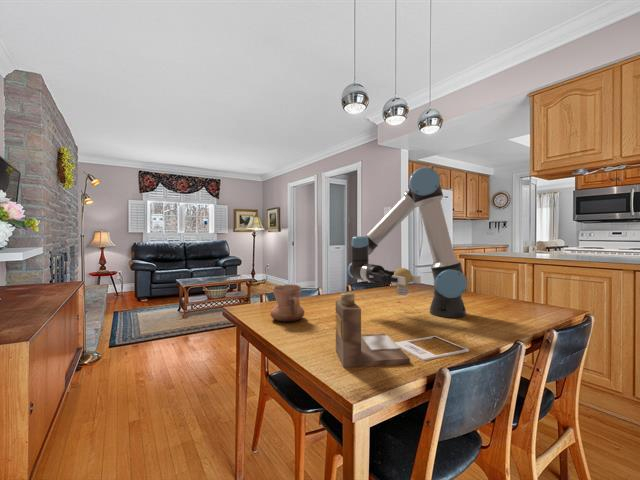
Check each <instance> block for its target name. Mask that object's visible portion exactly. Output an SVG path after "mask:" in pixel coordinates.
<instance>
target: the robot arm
mask: <svg viewBox="0 0 640 480" xmlns="http://www.w3.org/2000/svg"><path fill="white" fill-rule="evenodd" d="M408 181H409V182H408V184H409V185H408V186H409V187H408V188H407V189H406V191H404V192H403V197H401V199H400V200H399V201H398V202H397V203H396V204H395V205H394V206H393V207H392V208H391V209H390V210H389V211H388V212H387V213H386V214H385V215H384V217H382V218H381V220H380V221H378V222H377V224H376V225H375V226H374V227H373V228H372V229H371V230H370V231H369V232H368V233H367V234H366V235H365V236H364V235H363V236H361V235H359V236H352V238H351V262H350V263H349V265H348V266H347V273H348V275H349V277H351V278H352V279H355V280H361V281H365V282H368V283H369V284H370V283H374V284H381V283H384V284H386V283H387V284H388V285H392V284H395V285H398V284H401V285H406V277H401V276H395V275H394V272H395V271H396V270H388V269H385V268H384V266H382V265H379V264H374V263H369V261H370V260H369V256H370V255H371V254H372V253H374V251H375V249H377V247H379V246H380V244H381V243H382V242H383V241H384V240H386V238H387V237H388V236H389V235H391V233H392V232H393V231H395V229H396V228H397V227H398V226H399V225H400V224H401V223H402V222H403V221H404V220H405V219H407V217H408V216H409V215H410V214H411V213H412V212H413V211H414V210H415V209H416V208H419V210H420V214H421V217H422V218H421V219H422V222H423V226H424V231H425V233H426V239H427V242H428V246H429V249H430V255H431V258H432V264H431V265H430V268H431V272H432V277H433V298H432V300H431V303H430V307H429V313H430V314H432V315H433V316H436V317H441V318H451V319H452V318H453V319H455V318H464V317H466V316H467V310H466V307H465V304H464V301H463V298H462V295H463V294H464V293H465V292H466V290H467V286H468V281H467V280H468V279H467V277H466V276H465V275H464V274H465V273H464V271H463V267H462V263H461V260H459V259H458V258H457V257H456V256H455V255H456V254H455V252H454V248H453V244H452V240H451V236H450V232H449V229H448V224H447V221H446V218H445V212H444V209H443V206H442V199H443V198H444V193H443V190H442V186H441V183H440V182H441V178H440V175H439V173H438V171H436V170H435V169H434V168H432V167H428V166H425V167H424V166H423V167H419V168H417V169H416V170H414V171H413V173H411V175H410V177H409V180H408ZM411 276H412V277H411V281H410V282H409V283H415V284H421V275H418V274H412V273H411Z"/></svg>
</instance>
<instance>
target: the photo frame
mask: <svg viewBox="0 0 640 480" xmlns="http://www.w3.org/2000/svg"><path fill="white" fill-rule="evenodd" d="M433 338H437V339H439V340H441V341H444V342H447V343H449V344H451V345H454V346H455V347H458V348H459V349H460V348H461V349H460V350H456V351H451V352H446V353H440V354H437V355H436V354H434V353H433V352H430V351H428V350H426V349H425V348H422V347H420V346H418V345H415V344H414V343H415V342H419V341H424V340H429V339H433ZM394 342H395V341H394ZM412 342H414V343H412ZM395 343H396V344H397V345H398V346H399V347H400V348H401V350H402V351H403V352H406V353H408V354H409V355H412V356H414V357H415V358H416V359H417V358H418V359H420V360H421V361H422V362H425V361H429V360H434V359H438V358H443V357H448V356H453V355H458V354H463V353H468V352H470V349H469V348H466V347H465V346H464V347H463V346H462V345H459V344H456V343H454V342H451V341H448V340H447V339H444V338H441V337H439V336H436V335H432V336H426V337H418V338H415V339H414V338H413V339H408V340H401V341H396V342H395Z"/></svg>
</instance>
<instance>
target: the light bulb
mask: <svg viewBox="0 0 640 480" xmlns="http://www.w3.org/2000/svg"><path fill="white" fill-rule="evenodd" d="M394 271H395V272H394V275H395V276H401V277H406V285H401V284H397V287H396V288H397V289H396V290H397V292H396V293H397V294H398V295H399V296H407V295H409V294H408V293H409V292H408V291H409V290H408V288H409V287H408V285H409V283H411V282H410V281H411V277H412V276H411V274H412V272H411V271H410V270H409V269H407V268H406V267H400V268H397V269H396V270H394Z"/></svg>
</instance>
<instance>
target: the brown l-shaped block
mask: <svg viewBox="0 0 640 480" xmlns="http://www.w3.org/2000/svg"><path fill="white" fill-rule="evenodd" d="M335 352H336V353H335V354H336V355H337V357H338V359H339V361H340V364H341V366H342V368H343V369H345V368H347V369H348V368H361V367H365V368H366V367H381V366H394V365H410V364H411V358H410V357H409V356H408V355H407V354H406V353H405V351H404V350H402V349H401V348H400V347H399V346H398V345H397V344H396V343H395V341H394V340H393V339H392V338H391V337H390V336H389V335H387V334H385V333H372V334H369V333H368V334H362V308H361V307H359V305H358V304H356V302H355V293H352V292H342V293H340V299H335Z"/></svg>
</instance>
